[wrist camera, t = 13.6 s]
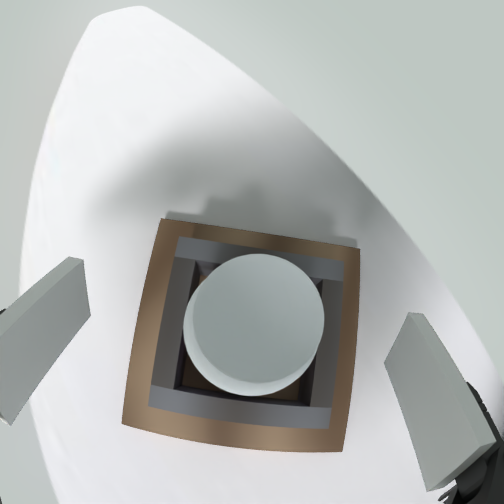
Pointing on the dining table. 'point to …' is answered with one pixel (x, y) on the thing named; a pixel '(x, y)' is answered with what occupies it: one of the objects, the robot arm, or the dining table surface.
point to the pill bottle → (254, 325)
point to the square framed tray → (214, 398)
